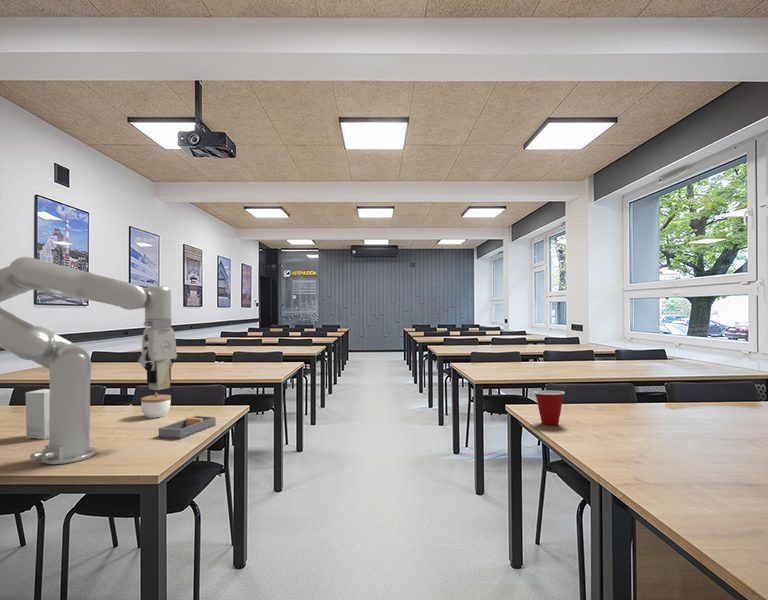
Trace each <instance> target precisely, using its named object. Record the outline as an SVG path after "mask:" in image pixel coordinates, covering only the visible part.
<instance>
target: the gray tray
mask: <svg viewBox="0 0 768 600" xmlns="http://www.w3.org/2000/svg"><path fill="white" fill-rule="evenodd" d="M190 418H202V419H203V421H201V422H199V423H196V424H193V425H190V426H188V427H186V418H185V419H182V420H179V421H176V422H174V423H171V424H168V425H164V426H161V427H159V428H158V438H160V437H161V439H171V438H173V439H174V440H182V439H184V437H185V438H187V437H189V435H190V436H192V435H194V433H195V434H197V433H200V432H202V430H203V431H206V430H207V428H208V429H209V428H212V426H213V427H215V426H216V422H217V421H216V418H217V417H216V416H203V415H195V416H192V417H191V416H190ZM199 431H200V432H199ZM196 432H197V433H196ZM191 434H192V435H191ZM186 436H187V437H186ZM173 439H172V440H173Z"/></svg>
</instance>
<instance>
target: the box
mask: <svg viewBox="0 0 768 600" xmlns="http://www.w3.org/2000/svg"><path fill="white" fill-rule="evenodd" d="M151 364H152V363H150V365H151ZM155 370H156V381H157V382H156V383H148V389H149V390H153V391H161V390H165V389H166V390H167V389H170V388H171V383H170V382H171V380H170V373H169V359H166V360H162V361H156V366H155Z"/></svg>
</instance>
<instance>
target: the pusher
mask: <svg viewBox="0 0 768 600" xmlns="http://www.w3.org/2000/svg"><path fill="white" fill-rule="evenodd" d="M185 419H186V427H188V426H190V425H193V424H196V423H199V422H201V421H203V419H202V418H191V417H186V418H185Z"/></svg>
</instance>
